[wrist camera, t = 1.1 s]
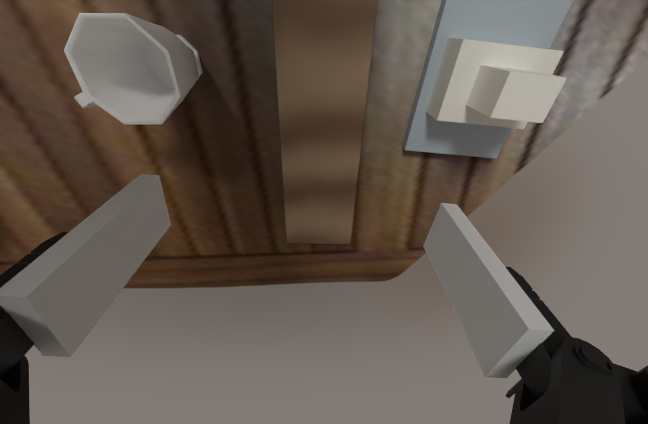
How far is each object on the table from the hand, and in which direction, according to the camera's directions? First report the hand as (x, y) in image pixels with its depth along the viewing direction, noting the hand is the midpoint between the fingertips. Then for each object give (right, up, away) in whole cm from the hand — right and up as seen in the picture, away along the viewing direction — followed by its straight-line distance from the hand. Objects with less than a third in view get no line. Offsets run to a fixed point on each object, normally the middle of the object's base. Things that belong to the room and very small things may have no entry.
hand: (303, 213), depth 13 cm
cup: (-14, +13, +12) cm, 22 cm away
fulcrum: (+15, +12, +12) cm, 23 cm away
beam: (+1, +10, +14) cm, 17 cm away
